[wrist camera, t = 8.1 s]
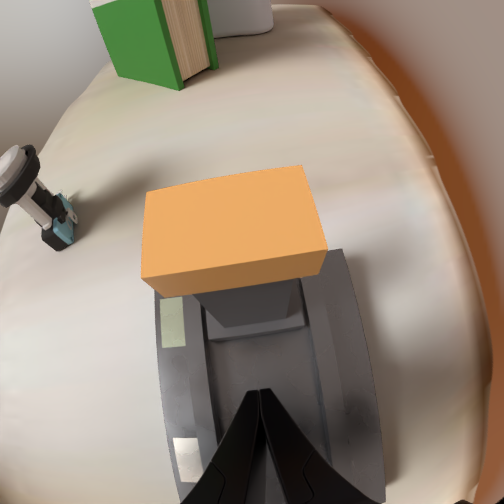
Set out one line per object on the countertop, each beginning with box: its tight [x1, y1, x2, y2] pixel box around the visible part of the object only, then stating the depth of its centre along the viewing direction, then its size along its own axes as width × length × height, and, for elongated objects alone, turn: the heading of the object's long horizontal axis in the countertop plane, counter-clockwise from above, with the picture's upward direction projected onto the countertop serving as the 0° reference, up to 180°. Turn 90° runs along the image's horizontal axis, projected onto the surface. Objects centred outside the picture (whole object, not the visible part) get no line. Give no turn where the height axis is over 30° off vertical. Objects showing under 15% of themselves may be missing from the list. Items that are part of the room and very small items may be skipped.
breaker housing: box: [155, 249, 386, 504], centre depth 13 cm, size 17×12×3 cm
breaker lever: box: [141, 165, 328, 342], centre depth 11 cm, size 3×5×10 cm, turn 98°
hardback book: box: [89, 0, 219, 91], centre depth 23 cm, size 18×7×24 cm, turn 51°
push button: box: [0, 145, 77, 251], centre depth 18 cm, size 7×5×10 cm
